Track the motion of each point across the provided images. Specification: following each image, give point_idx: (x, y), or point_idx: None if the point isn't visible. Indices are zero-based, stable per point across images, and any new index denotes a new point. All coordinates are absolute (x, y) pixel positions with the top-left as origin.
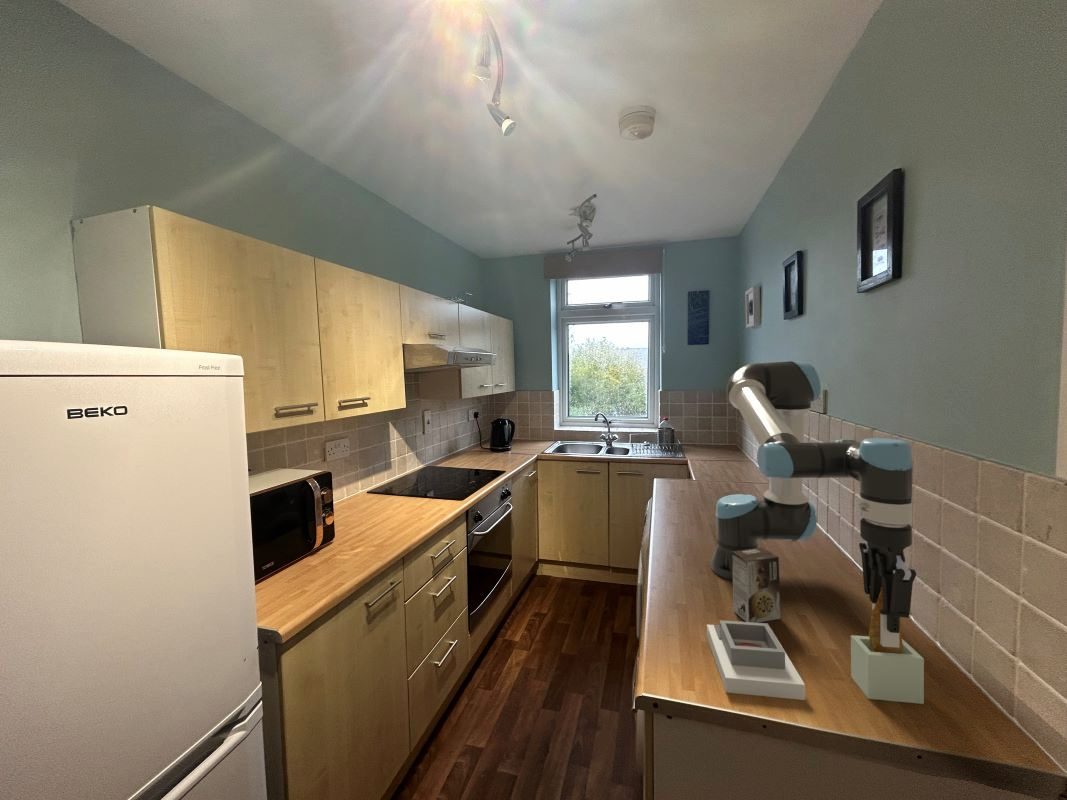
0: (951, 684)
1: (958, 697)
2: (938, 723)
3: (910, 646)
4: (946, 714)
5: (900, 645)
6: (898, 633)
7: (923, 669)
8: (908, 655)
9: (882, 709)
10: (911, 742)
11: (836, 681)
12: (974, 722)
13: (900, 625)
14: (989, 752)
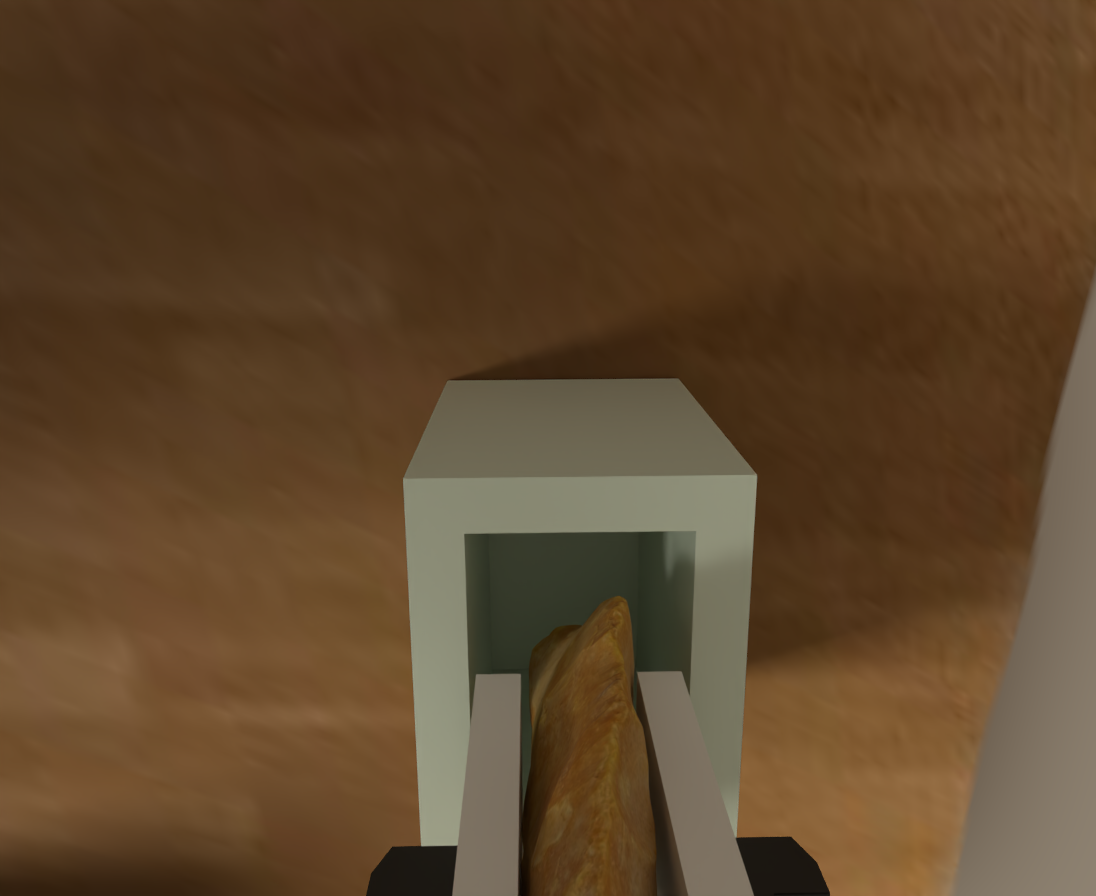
0: (424, 26)
1: (575, 82)
2: (846, 395)
3: (546, 478)
4: (762, 291)
5: (629, 632)
6: (709, 774)
7: (731, 446)
8: (716, 589)
9: (753, 652)
10: (999, 634)
11: None
12: (822, 154)
13: (625, 745)
14: (1063, 251)
